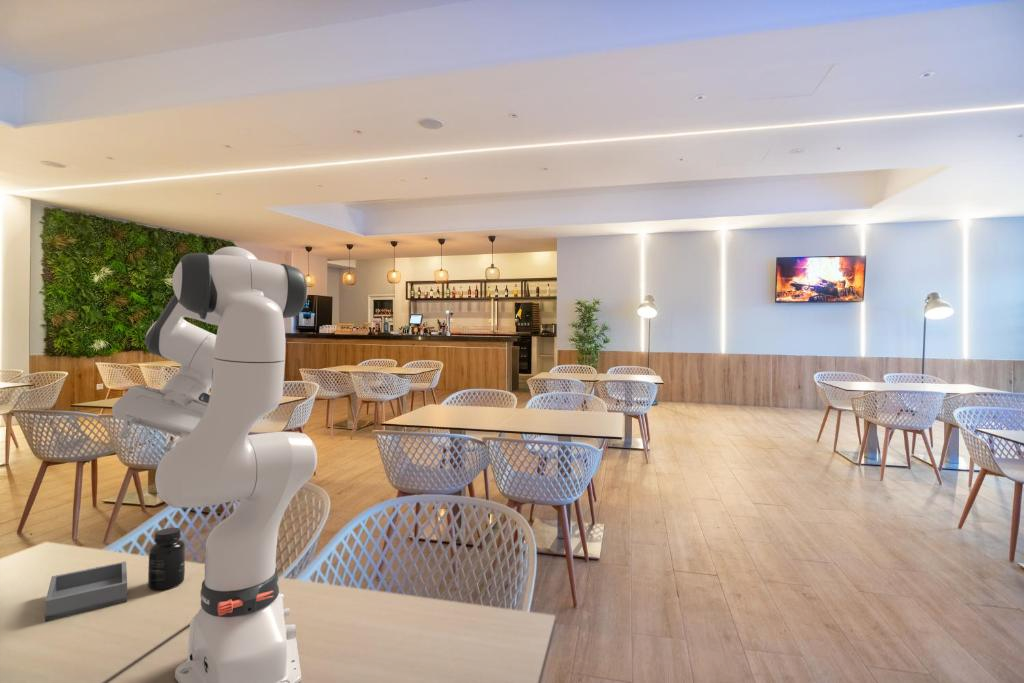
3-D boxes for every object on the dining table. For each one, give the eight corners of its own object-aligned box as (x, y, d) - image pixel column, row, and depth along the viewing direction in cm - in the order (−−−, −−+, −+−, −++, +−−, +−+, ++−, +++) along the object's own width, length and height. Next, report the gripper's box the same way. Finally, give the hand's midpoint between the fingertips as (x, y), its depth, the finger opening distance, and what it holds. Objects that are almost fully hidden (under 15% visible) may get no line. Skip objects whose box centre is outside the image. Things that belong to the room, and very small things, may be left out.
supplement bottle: (190, 582, 113) (191, 529, 113) (156, 594, 108) (157, 539, 108) (175, 574, 117) (177, 523, 117) (142, 585, 111) (143, 532, 111)
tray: (126, 601, 105) (127, 582, 105) (44, 621, 97) (45, 601, 97) (125, 578, 114) (126, 561, 114) (51, 595, 107) (51, 576, 107)
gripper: (133, 374, 115) (92, 420, 105) (225, 402, 120) (194, 449, 109) (135, 390, 119) (95, 437, 109) (224, 417, 124) (193, 464, 113)
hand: (145, 443), depth 109 cm, fingers open, 8 cm apart
